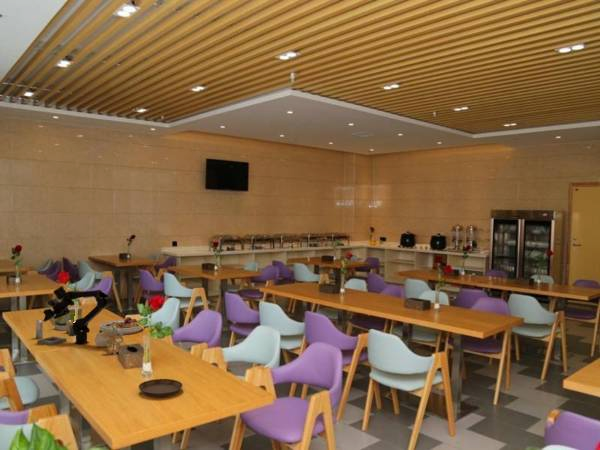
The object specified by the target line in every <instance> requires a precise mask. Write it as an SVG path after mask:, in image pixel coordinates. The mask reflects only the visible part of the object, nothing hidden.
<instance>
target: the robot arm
mask: <svg viewBox="0 0 600 450" xmlns="http://www.w3.org/2000/svg"><path fill="white" fill-rule="evenodd" d="M53 294H54V295H55V297H56V298H57V299H56V298H51V299H49V300H48V301H47V305H48V306H51V308H52V309H53V310H52V309H51V308H47V309H44V310H43V314H44V318H43V319H42V320H43V323H45V322H47V321H50V320H51V319H54V320H55V319H56V318H59V317H61V316H64V315H66V314H68V313H69V312H70V310H69V309H68V307H72V306H75V301H74V300H76V299H81V298H91V297H94V300H95V302H97V303H96V305H95V306H94V308H92V309H91V310H90V312H88V313H87V314H86V315H85V316H84V317H81V319H77V320H76V322H75V323H73V326H72V328H73V331H74V335H76V336H75V342H73V344H75V345H85V344H88V343H89V341H88V333H90V328H89V327H88V326H89V323H90V322H91V321H92V320H93V319H94V318H95V317H97V315H99V314H100V313H101V312H102V311H103V310H105V309H107V308H109V307H110V306H112V304H113V303H114V301H113V298H112V297H111V296H109V295H108V294H106V293H105V292H103V291H102V290H101V289H96V290H95V289H94V290H79V289H75V290H69V291H66V290H65V289H64V287H63V286H59V287H57V288H56V289H54V290H53ZM59 300H60V301H59ZM65 312H66V313H65ZM55 314H56V315H55Z"/></svg>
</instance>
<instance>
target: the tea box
mask: <svg viewBox="0 0 600 450" xmlns="http://www.w3.org/2000/svg"><path fill="white" fill-rule="evenodd" d="M74 307H75V306H68V309H69V310H70V312H69V313H68V314H66V315H64V316H61V317H59V318H56V319H54V329H55V330H56V331H57V330H58V331H61V332H62V331H66V321H67V320H73V322H74V316H75V309H74ZM65 313H66V312H65ZM82 313H83V308H81V307H78V319H81V318H82ZM55 315H56V314H55ZM55 315H54V316H55Z"/></svg>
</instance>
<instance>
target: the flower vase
mask: <svg viewBox="0 0 600 450" xmlns="http://www.w3.org/2000/svg"><path fill="white" fill-rule="evenodd" d="M110 325H111V324H110ZM111 326H112V325H111ZM112 328H113V332H114V331H115V332H114V333H113V332H112V333H111V332H110V330H108V331H106V330H105V329H104V332H102V331H101V332H98V333H97V334H96V335H95V338H94V342H95V345H96V346H98V347H100V348H105V347H107V346H108V348H109V349H111V348H112V349H111V350H109V351H108V352H107V355H110V354H113V355H117V351H118V348H119V347H118V346H120V347H121V343H123V342H124V338H123V336H124V334H123V333H121V332H122V329H121V331H120V328H116V326H115V325H113V326H112ZM117 331H120V333H119V335H117ZM118 339H119V340H120V341H117V340H118ZM115 346H116V348H115ZM117 347H118V348H117Z"/></svg>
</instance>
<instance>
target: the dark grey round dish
mask: <svg viewBox="0 0 600 450" xmlns="http://www.w3.org/2000/svg"><path fill="white" fill-rule="evenodd" d="M36 340H37V341H36V342H37V344H39V345H45V346H50V347H51V346H52V347H53V346H55V345H59V344H63V343H67V338H65V337H58V336H55V335H53V336H49V337H45V338H42V339H36Z"/></svg>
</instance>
